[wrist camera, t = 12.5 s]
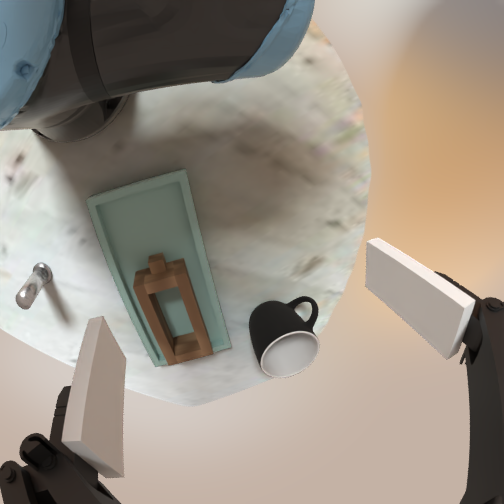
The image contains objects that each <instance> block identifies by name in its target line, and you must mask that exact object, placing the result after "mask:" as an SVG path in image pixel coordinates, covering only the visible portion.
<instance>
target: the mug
mask: <svg viewBox="0 0 504 504" xmlns="http://www.w3.org/2000/svg"><path fill="white" fill-rule="evenodd" d="M302 302H310V303H311V305H312V314H311V316H310V318H309V320H308V321H307V322H305V321H304V320H303V319H302V318H301V317H300V316H299V315H298V314H297V313H296V312H295V311H294V309H295V307H296V306H297V305H298V304H300V303H302ZM317 317H318V306H317V303H316V302H315V301H314V300H313V299H312V298H310V297H307V296H302V297H299V298H296V299H294V300H293V301H291V302H290V303H287V304H284V303H282V302H279V301H267V302H264V303H262V304H260V305H259V306H258V307H256V308H255V310H254V311H253V312H252V314H251V317H250V321H249V330H250V336H251V340H252V344H253V348H254V351H255V354H256V357H257V360H258V362H259V365H260V367H261V369H262V370H263V372H264V373H265V374H267V375H268V376H271V377H274V378H286V377H290V376H294V375H296V374H298V373H300V372H302V371H303V370H305V369H306V368H307V367H309V366H310V365H311V364H312V363H313V361H314V360H315V358H316V357H317V354H318V352H319V347H320V345H319V340H318V338H317V337H316V335H315V334H314V332H313V326H314V324H315V322H316V320H317Z"/></svg>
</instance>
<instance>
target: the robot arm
mask: <svg viewBox="0 0 504 504" xmlns="http://www.w3.org/2000/svg"><path fill="white" fill-rule="evenodd" d="M314 3H315V0H0V131H4V130H19V129H32V130H33V131H34V132H35V133H36V134H37V135H39V136H40V137H42V138H44V139H47V140H50V141H54V142H73V141H79V140H83V139H86V138H88V137H91V136H93V135H95V134H96V133H98V132H99V131H101V130H102V129H104V128H105V127H106V126H107V125H109V124H110V123H111V122H112V121H113V120H114V118H115V117H116V116H117V115H118V114H119V112H120V111H121V109H122V108H123V106H124V104H125V102H126V100H127V98H128V96H129V94H133V93H137V92H142V91H147V90H153V89H158V88H164V87H170V86H177V85H184V84H191V83H199V82H208V81H211V82H212V83H226V82H228V81H232V80H234V79H242V78H253V77H261V76H265V75H267V74H269V73H272V72H274V71H276V70H278V69H279V68H281V67H282V66H283V65H284V64H285V63H286V62H287V61H288V60H289V59H290V58H291V57H292V56H293V54H294V53H295V52H296V50H297V49H298V47H299V45H300V44H301V42H302V40H303V38H304V36H305V34H306V32H307V29H308V27H309V24H310V21H311V17H312V14H313V9H314ZM366 250H367V251H366V284H365V286H366V288H368V289H369V290H370V291H371V292H372V293H374V294H375V295H376V296H377V297H378V298H379V299H380V300H381V301H383V302H384V303H385V304H386V305H387V306H388V307H389V308H391V309H392V310H393V311H394V312H395V313H396V314H397V315H398V316H400V317H401V318H402V319H403V320H404V321H405V322H406V323H407V324H409V325H410V326H411V327H412V328H413V329H414V330H415V331H416V332H418V334H420V335H421V336H422V337H423V338H424V339H425V340H426V341H427V342H428V343H429V344H430V345H431V346H433V347H434V348H435V349H436V350H437V351H438V352H439V353H440V354H441V355H442V356H443V357H444V358H445V359H446V360H447V359H449V358H451V357H452V356H454V355H455V354H456V353H458V351H459V349H460V346H461V343H462V342H463V343H465V344H466V348H465V350H464V353H463V355H462V357H461V360H460V364H462V363H463V361H464V358H466V363H465V364H466V366H467V376H468V388H469V403H470V404H469V405H470V452H469V453H470V454H469V468H468V479H467V488H466V492H465V494H464V496H463V498H462V500H461V502H460V504H504V302H502V301H500V300H499V299H496V298H492V297H489V298H485V299H483V300H482V299H480V298H479V297H477V296H476V295H475V294H473V293H472V292H470V291H469V290H467V289H466V288H464V287H463V286H461V285H459V283H457V282H455V281H453V279H451V278H449V277H448V276H446V275H445V274H442V273H438V272H436V271H435V272H433V271H431V270H430V269H428V268H426V267H425V266H424V265H422V264H420V263H419V262H417V261H416V260H414V259H413V258H411V257H409V256H408V255H406V254H404V253H403V252H401V251H400V250H398V249H396V248H395V247H393V246H391V245H390V244H388V243H386V242H385V241H383V240H381V239H380V238H375V239H372V240H369V241H367V248H366ZM125 369H126V357H125V356H124V354H123V352H122V351H121V349H120V347H119V345H118V343H117V342H116V340H115V338H114V336H113V334H112V332H111V330H110V328H109V327H108V325H107V323H106V321H105V319H104V317H103V316H100V317H96V318H92V319H89V321H88V324H87V328H86V331H85V334H84V338H83V341H82V345H81V349H80V352H79V356H78V360H77V364H76V368H75V372H74V377H73V381H72V385H71V386H66V387H64V388H63V390H62V391H61V393H60V394H59V396H58V400H57V404H56V409H55V413H54V416H55V417H54V418H53V423H52V428H51V434H50V440H49V441H48V440H47V439H46V438H45V437H44V436H43V435H42V434H39V433H34V434H31V435H29V436H27V437H26V438H25V439H24V440H23V442H22V444H21V446H20V452H19V453H20V457H21V459H22V460H23V461H24V462H25V463H27V464H28V465H27V466H24V467H21V466H20V465H19V464H17V463H16V462H15V461H6V462H5V463H4V464H3V465H2V466H1V468H0V489H1V493H2V497H3V501H4V504H121V503H120V502H119V501H118V500H117V499H116V498H115V497H114V496H113V495H112V494H111V493H110V491H109V490H108V489H107V488H106V487H105V486H104V485H103V484H102V483H101V482H100V481H98V472H99V473H100V474H101V475H103V476H104V477H105V478H119V477H124V466H123V465H124V464H123V406H124V384H125Z"/></svg>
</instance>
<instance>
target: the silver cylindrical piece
mask: <svg viewBox="0 0 504 504" xmlns="http://www.w3.org/2000/svg"><path fill="white" fill-rule="evenodd" d="M51 277H52V272H51V270H50V268H49V267H48V266H47V265H46V264H44V263H38V264H36V265H35V266H34V268H33V273H32V275H31V276H30V277H29V279H28V280H27V281H26V283H25V284H24V285H23V287H22V288H21V289H20V291H19V292H18V294H17V295H16V302H17V304H18V306H19V307H21V308H22V309H29V308H30V307H31V305H32V303H33V302H34V300H35V298H36V297H37V295H38V293H39V292H40V290H41V289H42V287H43V286H44V284H46V283H48V282H49V281H50V279H51Z"/></svg>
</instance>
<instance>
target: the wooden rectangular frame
mask: <svg viewBox="0 0 504 504" xmlns="http://www.w3.org/2000/svg"><path fill="white" fill-rule="evenodd" d="M148 265H149V268H146V269H142V270H139V271H136V272H135V278H134V283H133V289H134V292H135V294H136V296H137V299H138V301H139V304H140V306H141V308H142V310H143V313H144V315H145V317H146V319H147V322H148V324H149V326H150V328H151V330H152V332H153V335H154V337H155V339H156V341H157V343H158V345H159V347H160V349H161V351H162V353H163V355H164V357H165V359H166V361H167V363H168V365H173V364H177V363H181V362H185V361H189V360H193V359H197V358H200V357H204V356H208V355H211V354H214V353H213V350H212V346H211V342H210V338H209V334H208V331H207V329H206V326H205V323H204V320H203V317H202V314H201V311H200V308H199V305H198V302H197V299H196V296H195V292H194V289H193V286H192V283H191V280H190V277H189V273H188V270H187V267H186V264H185V260H184V258H181V259H178V260H174V261H171V262H167V263H166V260H165V257H164V254H163V252H162V253H158V254H155V255H151V256H149V259H148ZM177 286H178V288H179V291H180V294H181V297H182V300H183V302H184V305H185V308H186V311H187V314H188V316H189V319H190V322H191V324H192V327H193V330H194V332H191V333H188V334H184V335H180V336H176V337H173V336H172V334H171V331H170V329H169V327H168V324H167V322H166V320H165V317H164V315H163V312H162V310H161V307H160V305H159V302H158V300H157V297H156V295H155V293H156V292H159V291H163V290H166V289H170V288H174V287H177Z"/></svg>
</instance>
